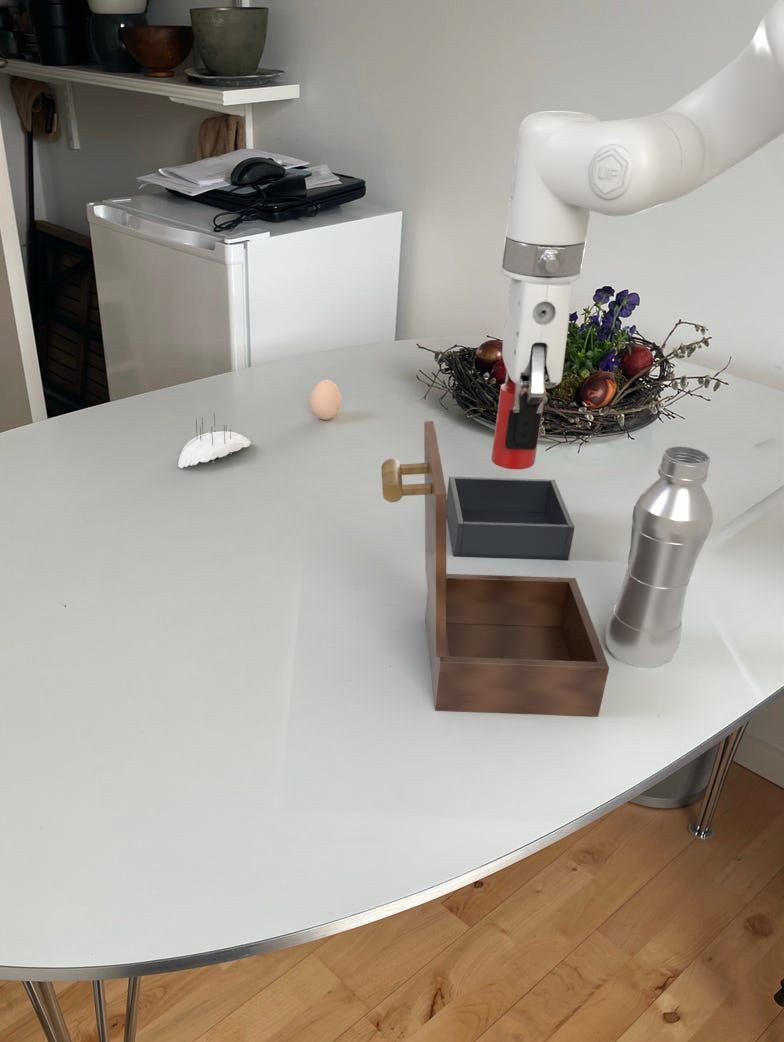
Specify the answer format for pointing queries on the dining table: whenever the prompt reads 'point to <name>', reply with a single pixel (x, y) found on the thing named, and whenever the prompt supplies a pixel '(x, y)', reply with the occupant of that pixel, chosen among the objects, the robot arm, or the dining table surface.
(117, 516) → the dining table surface
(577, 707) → the chest
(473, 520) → the bin
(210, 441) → the pincushion
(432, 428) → the lid
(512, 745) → the dining table surface
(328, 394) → the egg
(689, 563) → the silver metal bottle
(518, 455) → the red cylinder
